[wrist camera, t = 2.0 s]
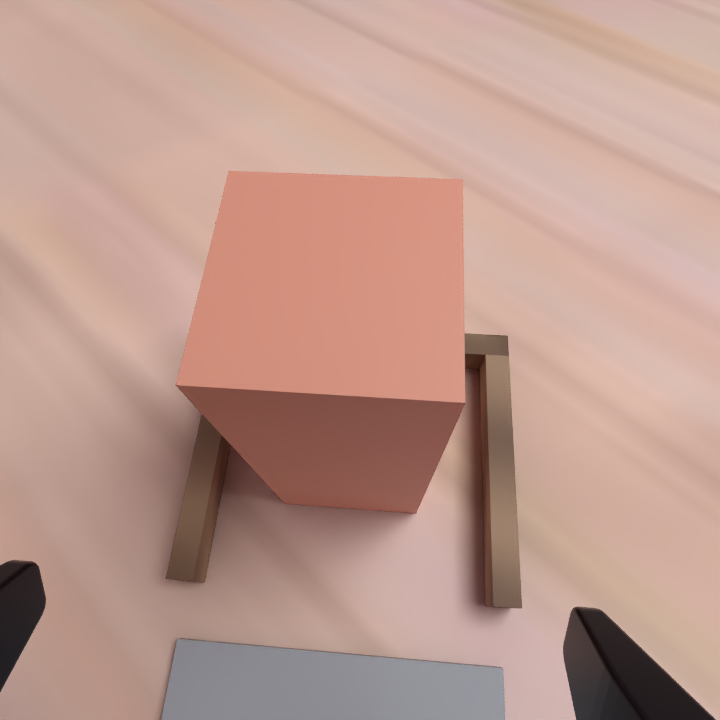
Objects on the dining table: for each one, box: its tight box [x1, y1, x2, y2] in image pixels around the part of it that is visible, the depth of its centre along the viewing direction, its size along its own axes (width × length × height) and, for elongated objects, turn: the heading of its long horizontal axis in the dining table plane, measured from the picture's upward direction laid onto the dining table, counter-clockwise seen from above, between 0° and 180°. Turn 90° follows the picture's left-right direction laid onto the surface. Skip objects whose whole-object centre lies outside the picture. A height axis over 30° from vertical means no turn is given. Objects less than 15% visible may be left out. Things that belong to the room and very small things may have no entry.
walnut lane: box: [166, 334, 522, 608], centre depth 22 cm, size 11×13×2 cm
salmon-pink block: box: [176, 171, 465, 513], centre depth 17 cm, size 6×6×13 cm
